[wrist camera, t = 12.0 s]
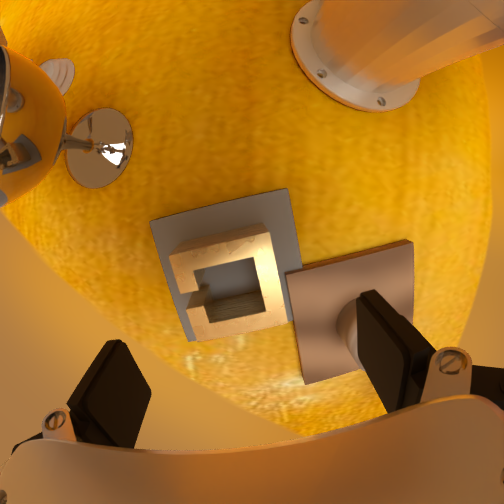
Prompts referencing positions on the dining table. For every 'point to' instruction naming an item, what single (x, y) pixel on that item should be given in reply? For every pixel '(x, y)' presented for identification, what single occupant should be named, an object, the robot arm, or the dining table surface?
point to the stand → (345, 304)
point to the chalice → (54, 69)
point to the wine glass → (52, 133)
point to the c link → (234, 307)
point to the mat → (240, 271)
